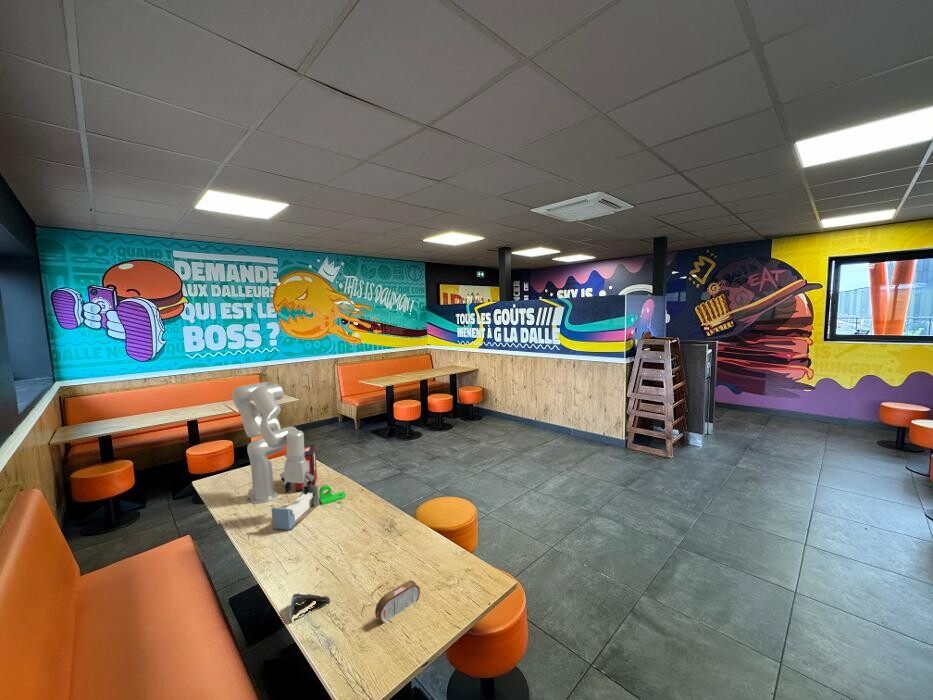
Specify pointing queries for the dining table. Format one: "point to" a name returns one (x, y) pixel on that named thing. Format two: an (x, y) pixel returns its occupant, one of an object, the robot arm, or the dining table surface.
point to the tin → (397, 600)
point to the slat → (301, 505)
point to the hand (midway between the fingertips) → (297, 492)
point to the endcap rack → (315, 503)
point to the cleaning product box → (309, 465)
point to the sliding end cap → (282, 518)
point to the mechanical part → (330, 495)
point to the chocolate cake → (302, 598)
